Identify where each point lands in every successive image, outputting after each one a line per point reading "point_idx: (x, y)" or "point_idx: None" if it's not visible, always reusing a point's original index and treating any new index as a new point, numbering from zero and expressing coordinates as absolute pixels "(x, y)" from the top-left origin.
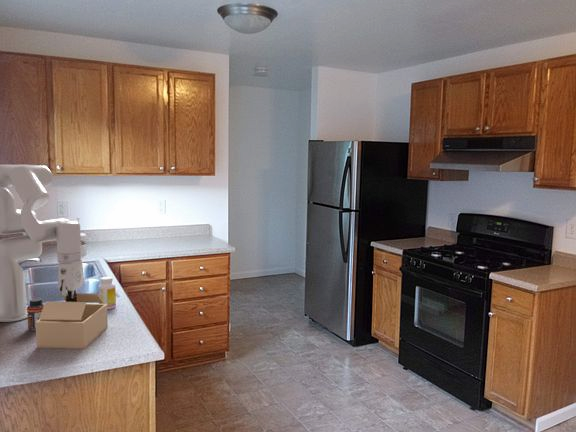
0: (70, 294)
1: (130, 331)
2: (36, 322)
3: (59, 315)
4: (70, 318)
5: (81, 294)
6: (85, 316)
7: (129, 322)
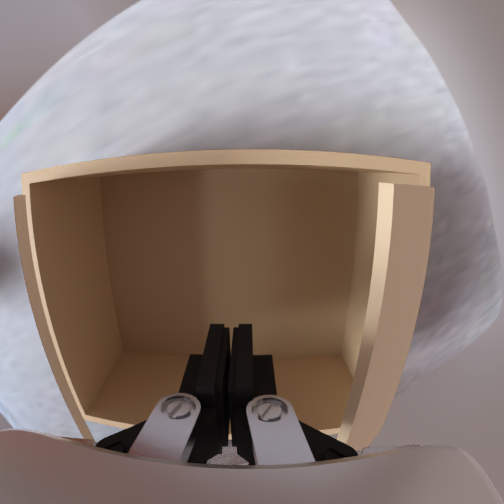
0: (331, 447)
1: (145, 45)
2: None
3: (403, 353)
4: (425, 265)
5: (62, 369)
6: (87, 288)
7: (47, 106)
